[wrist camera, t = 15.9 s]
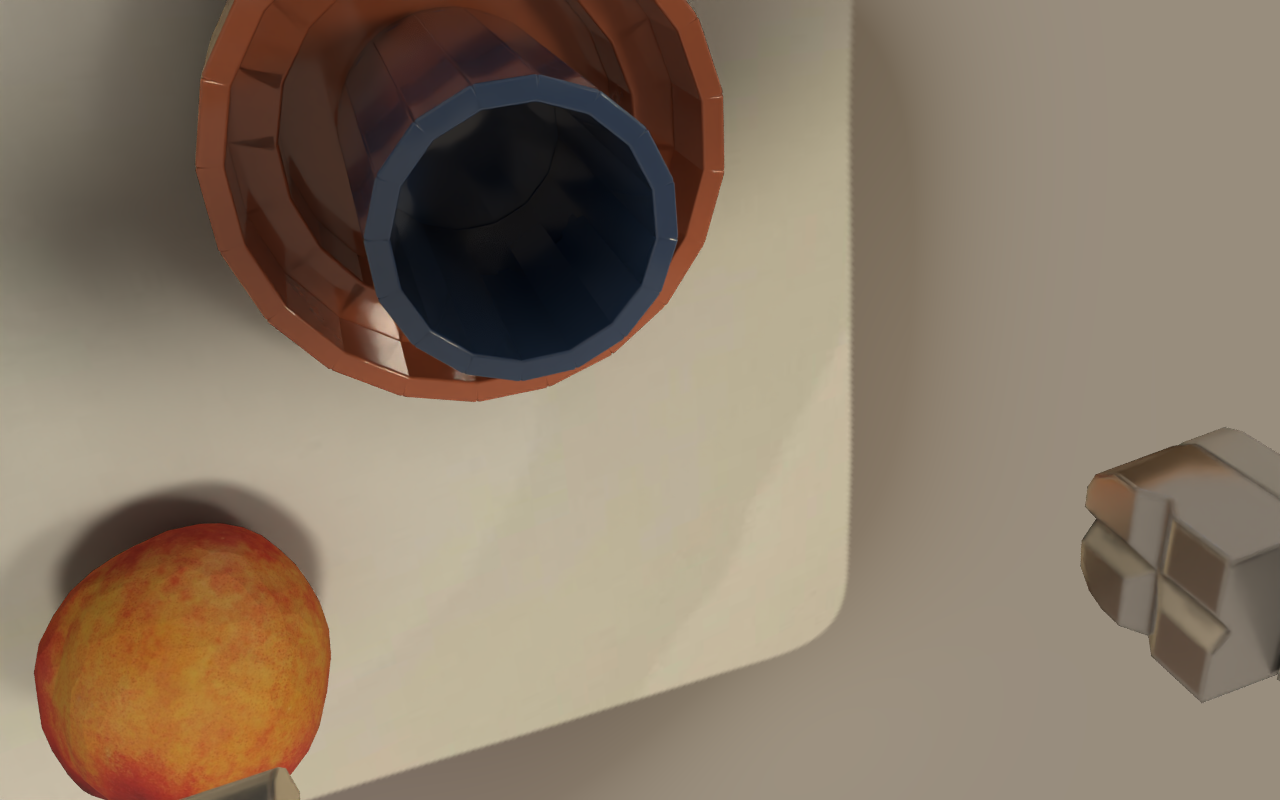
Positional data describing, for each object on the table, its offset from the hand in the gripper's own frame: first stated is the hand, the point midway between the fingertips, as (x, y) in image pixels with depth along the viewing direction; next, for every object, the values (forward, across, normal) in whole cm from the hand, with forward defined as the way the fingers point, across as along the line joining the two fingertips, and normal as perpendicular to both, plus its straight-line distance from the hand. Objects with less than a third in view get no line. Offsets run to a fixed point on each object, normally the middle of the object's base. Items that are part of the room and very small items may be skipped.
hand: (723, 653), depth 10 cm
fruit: (+22, +11, +13) cm, 27 cm away
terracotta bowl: (+22, -1, 0) cm, 22 cm away
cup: (+21, -1, 0) cm, 21 cm away
